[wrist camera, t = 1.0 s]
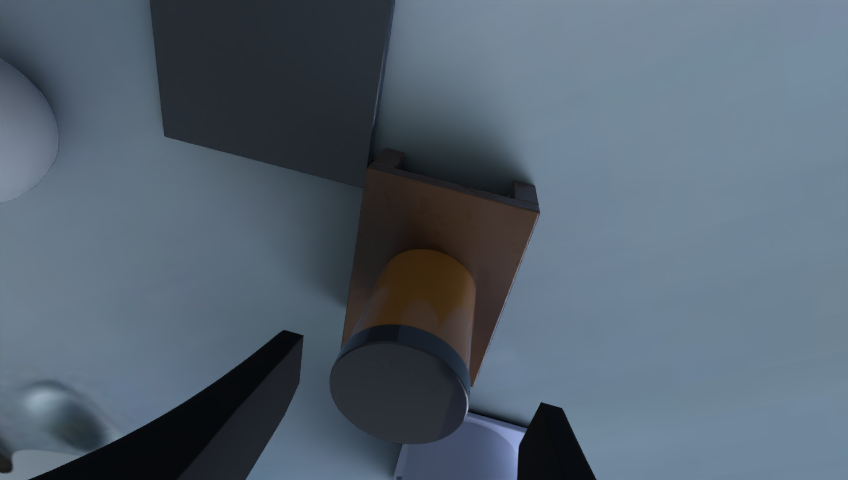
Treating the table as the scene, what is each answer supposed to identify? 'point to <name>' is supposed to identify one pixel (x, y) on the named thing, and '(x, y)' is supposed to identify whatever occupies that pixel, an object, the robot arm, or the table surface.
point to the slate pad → (275, 79)
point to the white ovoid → (23, 134)
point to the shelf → (442, 238)
